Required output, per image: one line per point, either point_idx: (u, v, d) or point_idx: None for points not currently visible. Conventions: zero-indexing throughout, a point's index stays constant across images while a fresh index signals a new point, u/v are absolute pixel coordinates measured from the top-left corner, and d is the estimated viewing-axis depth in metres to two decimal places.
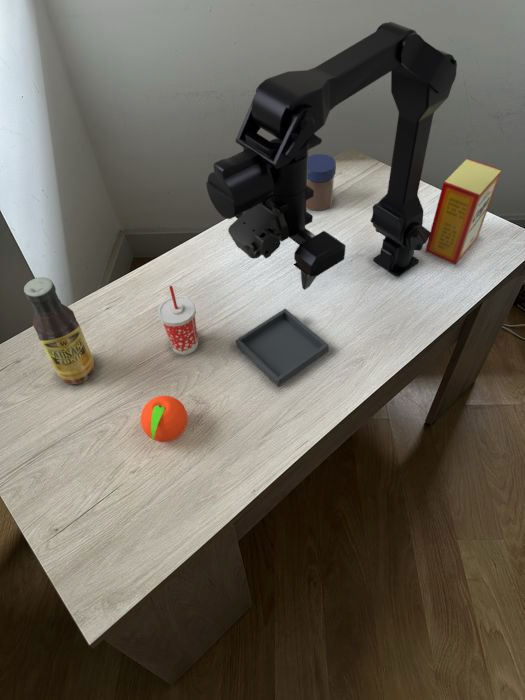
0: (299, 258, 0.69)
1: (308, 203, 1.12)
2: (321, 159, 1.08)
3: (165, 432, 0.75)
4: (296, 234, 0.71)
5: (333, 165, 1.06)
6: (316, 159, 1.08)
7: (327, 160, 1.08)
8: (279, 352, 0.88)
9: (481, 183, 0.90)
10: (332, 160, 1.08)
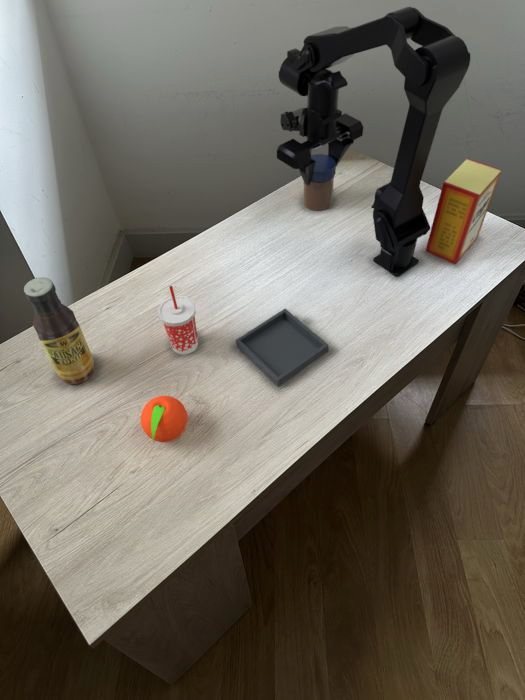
0: None
1: (308, 203, 1.12)
2: (321, 159, 1.08)
3: (165, 432, 0.75)
4: None
5: (333, 165, 1.06)
6: (316, 159, 1.08)
7: (327, 160, 1.08)
8: (279, 352, 0.88)
9: (481, 183, 0.90)
10: (332, 160, 1.08)
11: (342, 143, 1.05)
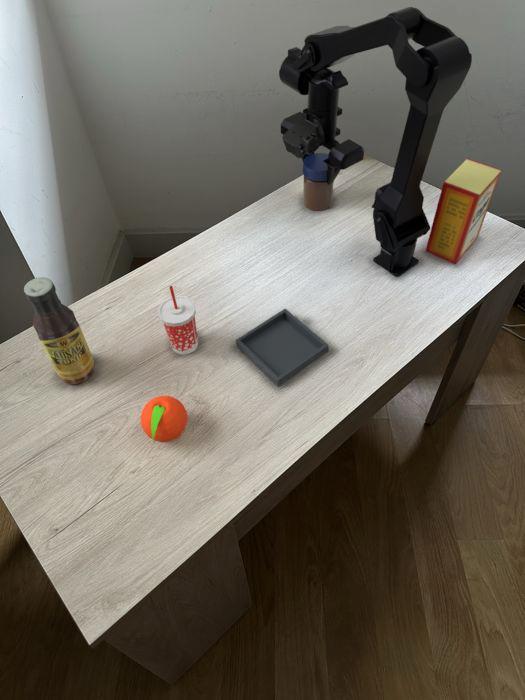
0: (332, 157, 0.98)
1: (308, 203, 1.12)
2: (313, 160, 1.07)
3: (165, 432, 0.75)
4: (329, 142, 1.01)
5: (324, 154, 1.09)
6: (313, 163, 1.07)
7: (315, 157, 1.08)
8: (279, 352, 0.88)
9: (481, 183, 0.90)
10: (315, 154, 1.09)
11: None
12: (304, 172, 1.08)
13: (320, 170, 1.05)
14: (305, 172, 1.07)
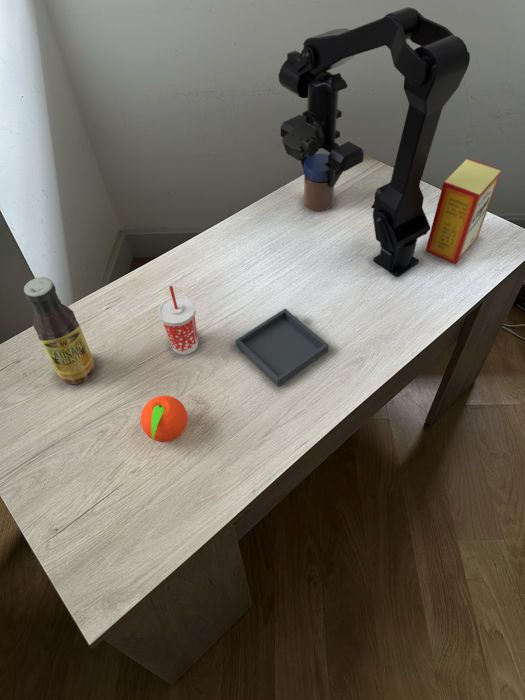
0: (332, 159, 0.99)
1: (309, 204, 1.12)
2: (314, 161, 1.07)
3: (165, 432, 0.75)
4: (329, 144, 1.01)
5: (325, 154, 1.09)
6: (314, 164, 1.07)
7: (316, 157, 1.08)
8: (279, 352, 0.88)
9: (481, 183, 0.90)
10: (316, 155, 1.09)
11: None
12: (305, 172, 1.08)
13: (321, 170, 1.05)
14: (306, 173, 1.07)
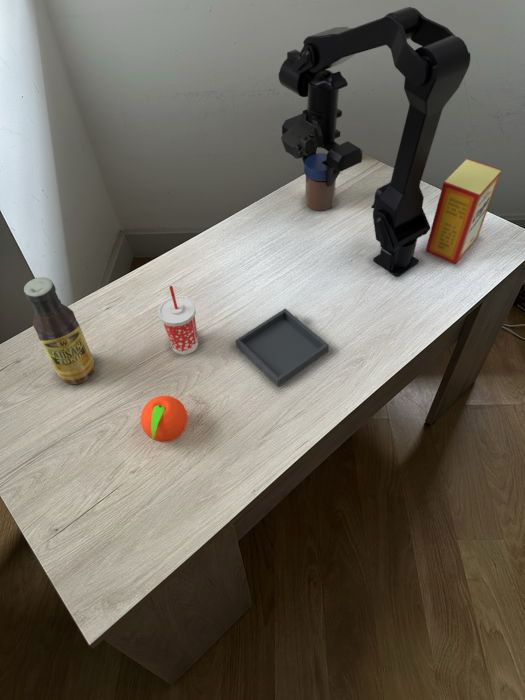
0: (330, 158, 0.98)
1: (311, 204, 1.12)
2: (318, 165, 1.06)
3: (165, 432, 0.75)
4: (328, 144, 1.01)
5: (307, 158, 1.08)
6: (323, 165, 1.06)
7: (312, 163, 1.07)
8: (279, 352, 0.88)
9: (481, 183, 0.90)
10: (307, 163, 1.07)
11: None
12: (325, 177, 1.06)
13: None
14: None
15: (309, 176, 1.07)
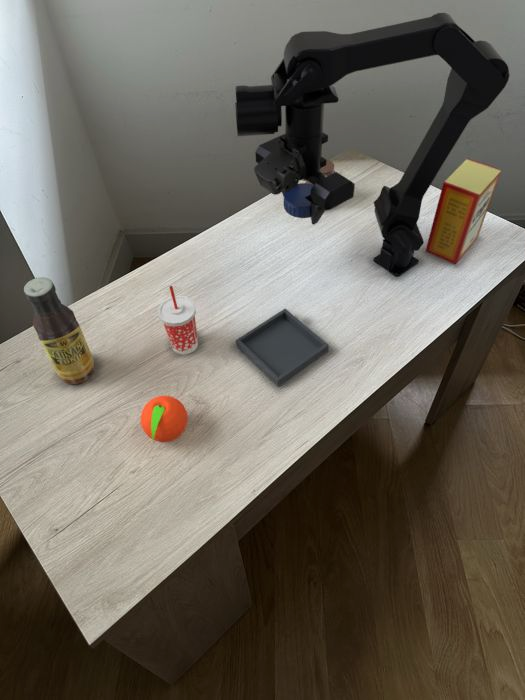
0: (315, 194, 0.80)
1: None
2: (300, 198, 0.88)
3: (165, 432, 0.75)
4: (312, 175, 0.82)
5: None
6: None
7: (293, 197, 0.88)
8: (279, 352, 0.88)
9: (481, 183, 0.90)
10: (287, 197, 0.88)
11: None
12: (310, 213, 0.88)
13: None
14: None
15: (290, 212, 0.88)
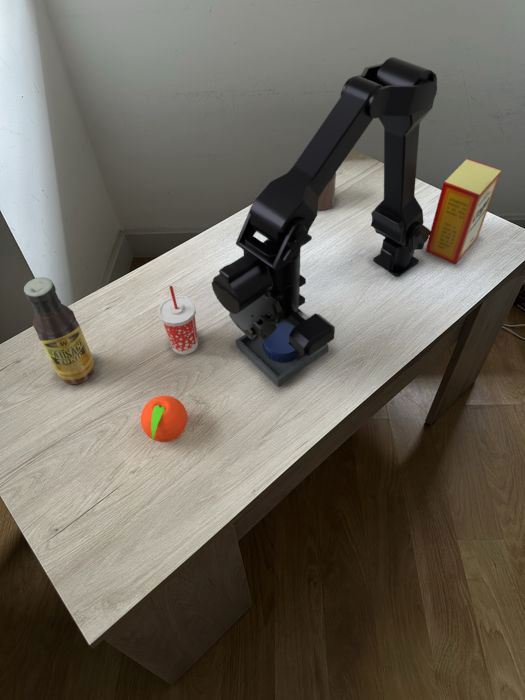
0: (293, 340, 0.76)
1: None
2: (279, 343, 0.86)
3: (165, 432, 0.75)
4: (290, 315, 0.79)
5: None
6: (286, 344, 0.86)
7: (272, 341, 0.87)
8: None
9: (481, 183, 0.90)
10: (266, 341, 0.87)
11: None
12: (289, 358, 0.86)
13: None
14: (293, 356, 0.86)
15: (269, 356, 0.87)
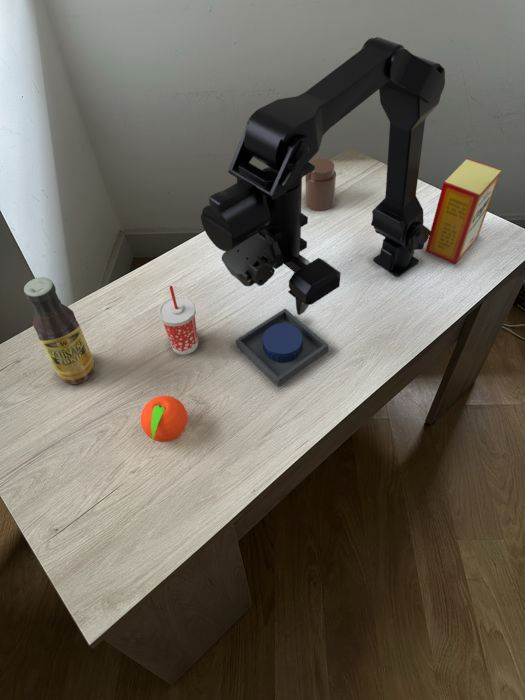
0: (294, 286, 0.68)
1: (311, 204, 1.12)
2: (279, 343, 0.86)
3: (165, 432, 0.75)
4: (290, 261, 0.70)
5: (266, 333, 0.88)
6: (286, 344, 0.86)
7: (272, 341, 0.87)
8: None
9: (481, 183, 0.90)
10: (266, 341, 0.87)
11: None
12: (289, 358, 0.86)
13: (300, 338, 0.87)
14: (293, 356, 0.86)
15: (269, 356, 0.87)
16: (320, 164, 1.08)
